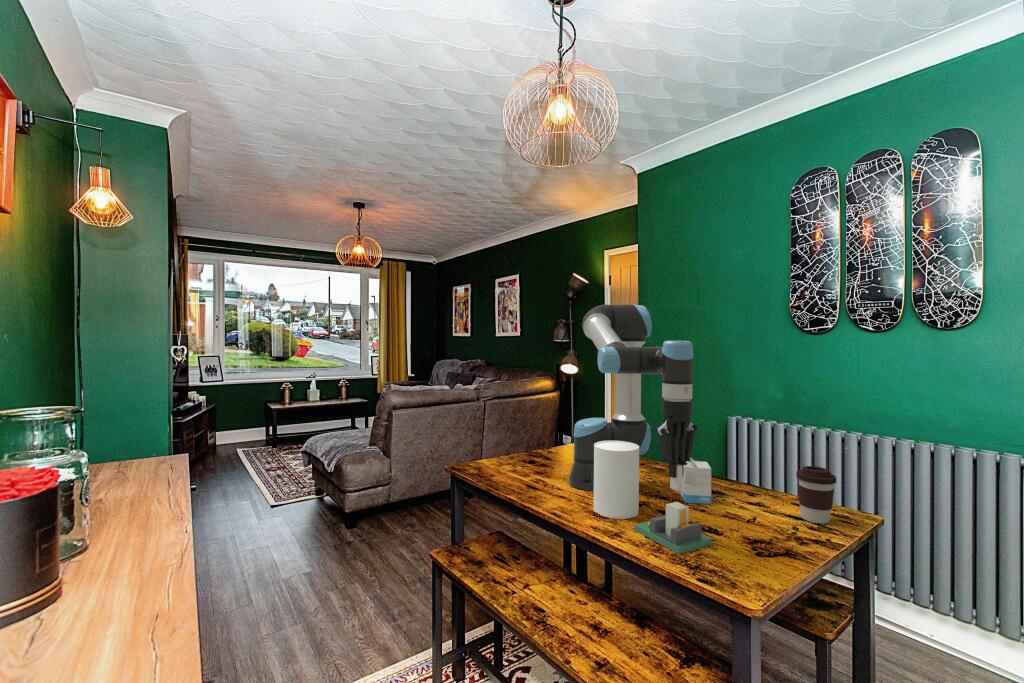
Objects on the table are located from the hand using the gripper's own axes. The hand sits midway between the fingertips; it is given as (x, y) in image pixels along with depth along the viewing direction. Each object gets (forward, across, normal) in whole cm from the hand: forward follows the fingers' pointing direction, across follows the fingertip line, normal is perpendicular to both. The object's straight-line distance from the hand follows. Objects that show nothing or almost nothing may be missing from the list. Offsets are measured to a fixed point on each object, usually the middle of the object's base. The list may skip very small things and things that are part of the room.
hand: (676, 489), depth 125 cm
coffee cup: (+14, +48, -8) cm, 51 cm away
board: (+14, +1, +2) cm, 14 cm away
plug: (+12, 0, 0) cm, 12 cm away
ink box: (+14, +30, +20) cm, 39 cm away
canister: (+14, 0, +24) cm, 28 cm away
